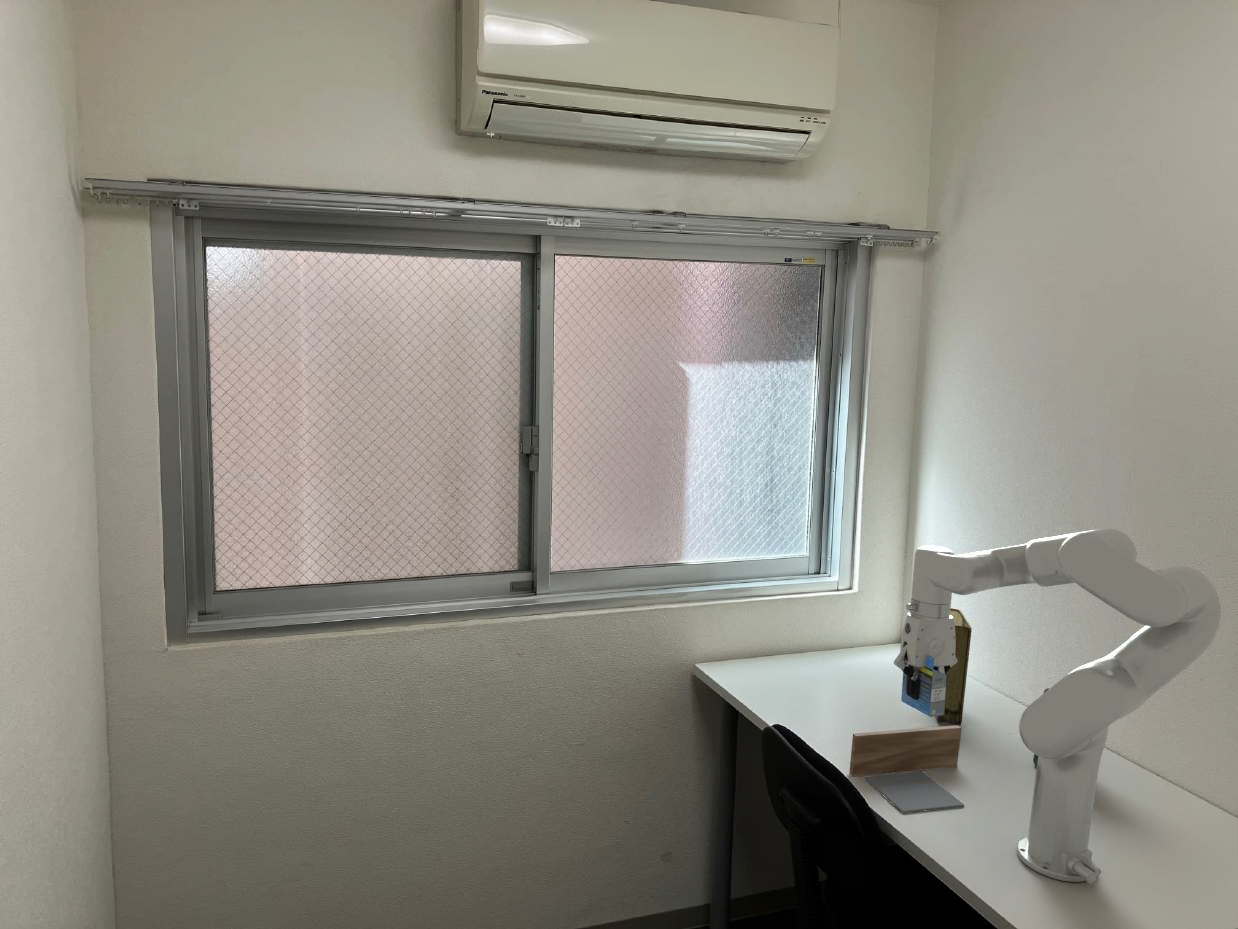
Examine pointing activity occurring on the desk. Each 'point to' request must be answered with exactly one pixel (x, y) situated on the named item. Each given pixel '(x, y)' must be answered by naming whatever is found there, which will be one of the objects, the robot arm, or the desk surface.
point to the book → (957, 671)
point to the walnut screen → (904, 750)
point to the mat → (913, 792)
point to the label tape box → (927, 690)
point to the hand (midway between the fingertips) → (922, 695)
